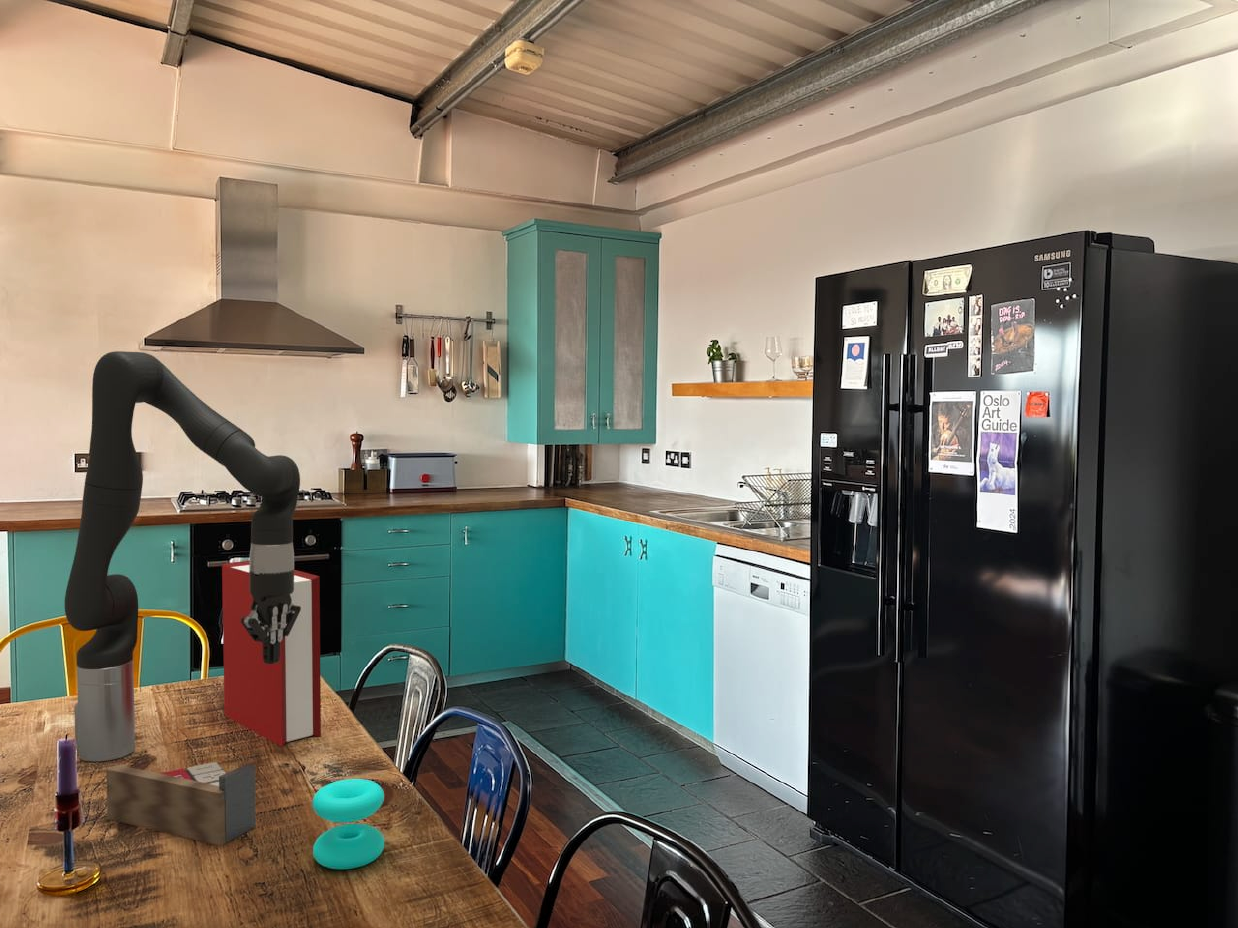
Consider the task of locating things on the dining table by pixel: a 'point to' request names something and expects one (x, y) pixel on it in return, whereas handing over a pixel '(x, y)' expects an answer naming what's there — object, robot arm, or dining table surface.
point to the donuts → (349, 840)
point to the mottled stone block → (166, 804)
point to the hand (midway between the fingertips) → (271, 662)
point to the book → (277, 692)
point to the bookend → (239, 800)
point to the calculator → (200, 773)
